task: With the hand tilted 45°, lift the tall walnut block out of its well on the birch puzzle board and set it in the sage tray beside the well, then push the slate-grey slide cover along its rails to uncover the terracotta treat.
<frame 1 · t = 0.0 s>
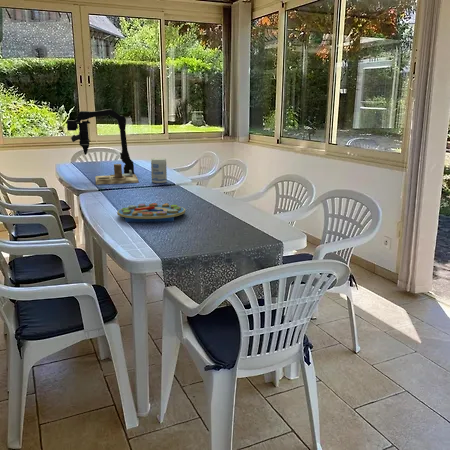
hand: (85, 153, 299), 15 cm above the table, tool pointing down, fingers open, 9 cm apart
slide cover: (126, 173, 292), point 3 cm above the table, slide at 0.0 cm
puzzle board: (116, 180, 286), on the table
walnut block: (118, 179, 280), point 2 cm above the table, touching puzzle board
supplement tub: (159, 182, 282), on the table
shape sorting clock: (151, 217, 202), on the table
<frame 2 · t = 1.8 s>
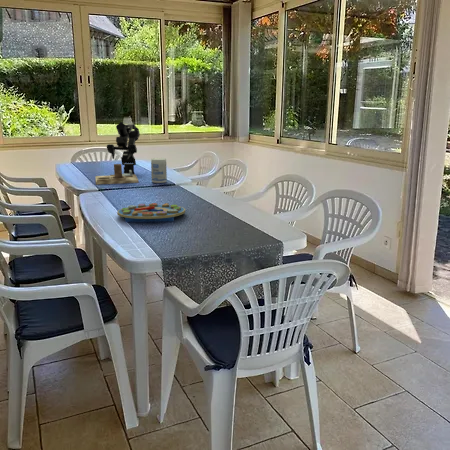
hand: (120, 159, 285), 13 cm above the table, tool tilted 45°, fingers open, 9 cm apart
nothing on the table moved.
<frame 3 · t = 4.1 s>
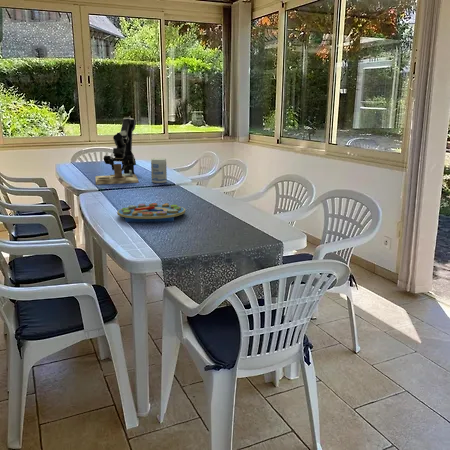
hand: (117, 170, 277), 7 cm above the table, tool tilted 45°, fingers closed on walnut block, 5 cm apart
walnut block: (118, 179, 280), point 2 cm above the table, touching gripper, puzzle board
everything else where it was.
when the fingers open (9 cm above the table, at t = 7.2 s): walnut block drops 1 cm, resting on puzzle board.
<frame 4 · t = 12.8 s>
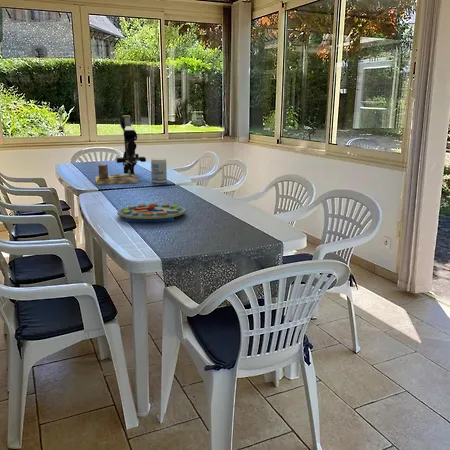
hand: (131, 172, 293), 4 cm above the table, tool pointing down, fingers closed
slide cover: (125, 173, 292), point 3 cm above the table, slide at 0.8 cm, touching gripper
walnut block: (103, 179, 278), point 2 cm above the table, touching puzzle board
everything else where it was.
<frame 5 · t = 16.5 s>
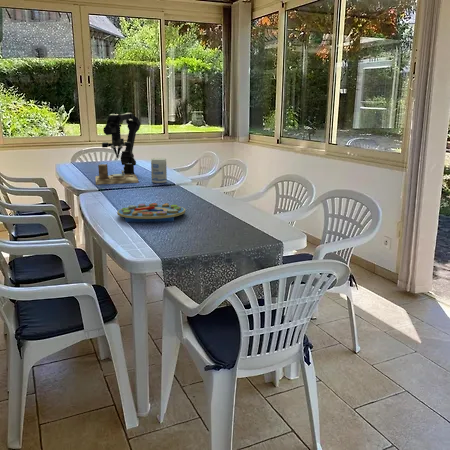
hand: (117, 157, 293), 13 cm above the table, tool pointing down, fingers closed
slide cover: (118, 173, 291), point 3 cm above the table, slide at 5.1 cm
everything else where it was.
at the end: walnut block 0.1 cm from the target spot on the puzzle board, point 1.7 cm above the puzzle board's base; walnut block tilted 0°; slide cover slide at 5.1 cm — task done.
